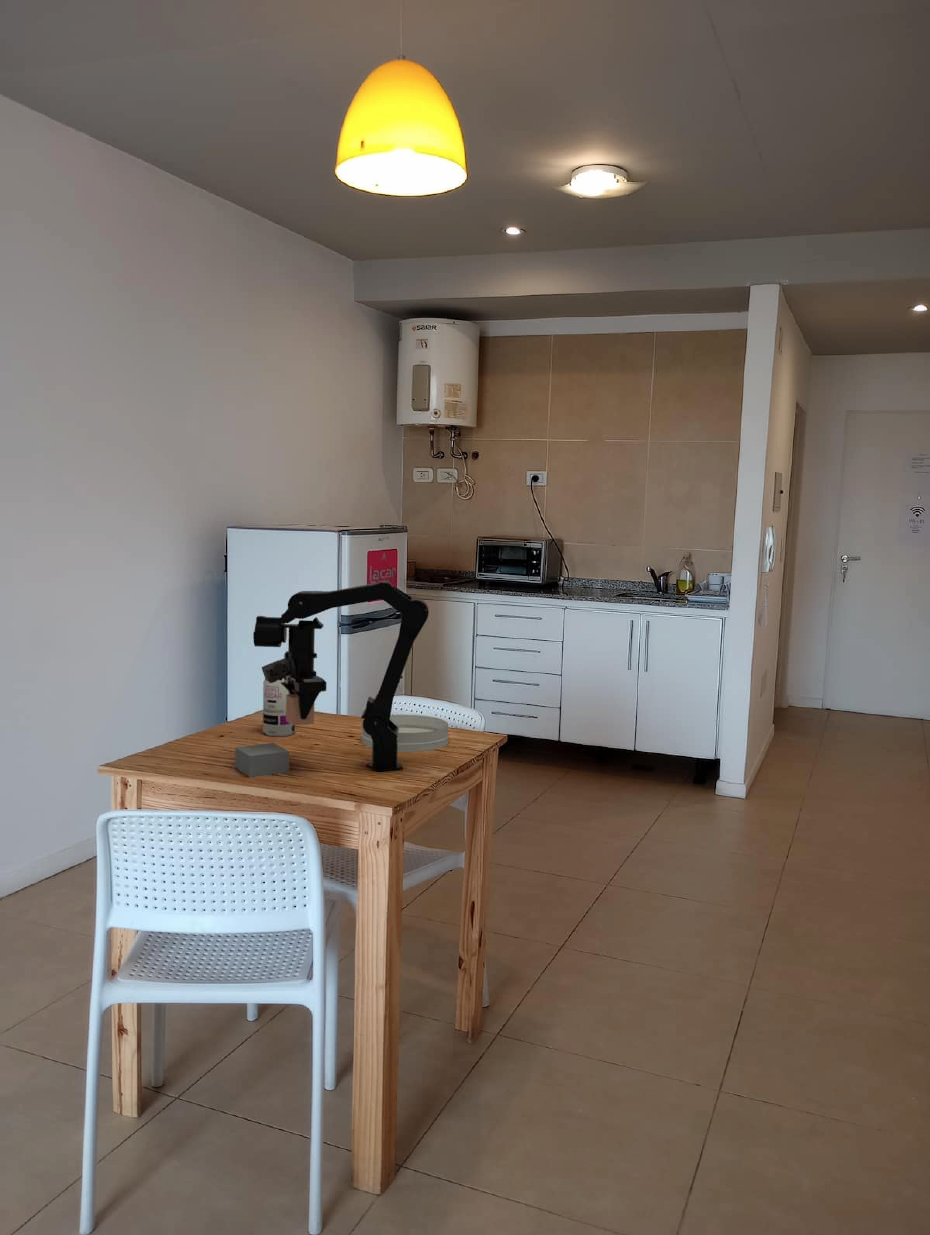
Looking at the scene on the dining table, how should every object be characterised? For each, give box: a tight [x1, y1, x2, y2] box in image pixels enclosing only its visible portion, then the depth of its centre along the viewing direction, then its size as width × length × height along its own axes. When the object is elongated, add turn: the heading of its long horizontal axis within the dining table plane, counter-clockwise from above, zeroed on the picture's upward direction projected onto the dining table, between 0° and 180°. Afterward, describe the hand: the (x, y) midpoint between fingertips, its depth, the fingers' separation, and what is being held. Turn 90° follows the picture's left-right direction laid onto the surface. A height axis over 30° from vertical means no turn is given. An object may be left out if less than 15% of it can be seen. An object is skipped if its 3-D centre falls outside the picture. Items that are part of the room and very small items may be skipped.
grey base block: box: [234, 742, 290, 778], centre depth 217 cm, size 9×9×5 cm
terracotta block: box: [286, 694, 316, 726], centre depth 220 cm, size 5×5×6 cm
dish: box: [360, 714, 450, 753], centre depth 248 cm, size 22×22×5 cm
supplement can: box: [262, 678, 296, 737], centre depth 253 cm, size 8×8×15 cm
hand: (299, 716), depth 220 cm, fingers closed on terracotta block, 5 cm apart
